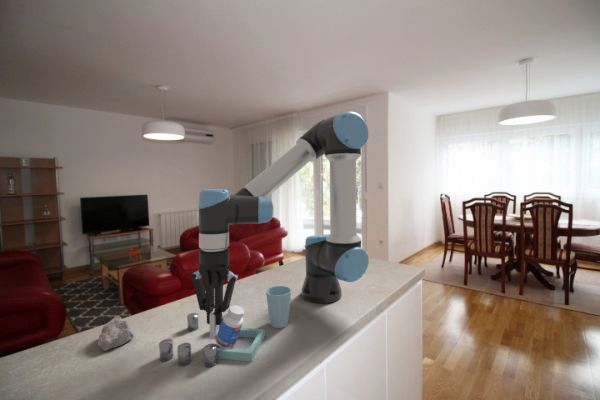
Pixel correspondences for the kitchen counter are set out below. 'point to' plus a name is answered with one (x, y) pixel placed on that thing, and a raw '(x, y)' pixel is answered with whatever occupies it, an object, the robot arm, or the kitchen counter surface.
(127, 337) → the stone
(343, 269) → the robot arm
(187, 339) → the kitchen counter surface
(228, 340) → the pill bottle
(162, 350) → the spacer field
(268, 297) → the cup
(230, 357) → the teal bay
